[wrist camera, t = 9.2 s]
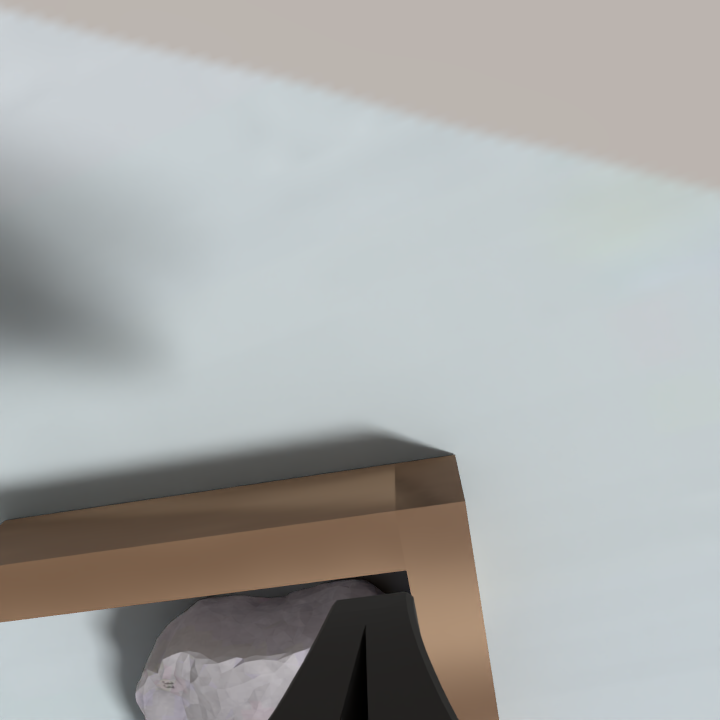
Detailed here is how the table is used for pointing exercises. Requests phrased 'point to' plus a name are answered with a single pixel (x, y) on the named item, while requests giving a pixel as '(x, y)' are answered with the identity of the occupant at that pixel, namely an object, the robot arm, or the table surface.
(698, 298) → the table surface
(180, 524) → the dock
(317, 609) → the stone block
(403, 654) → the robot arm
